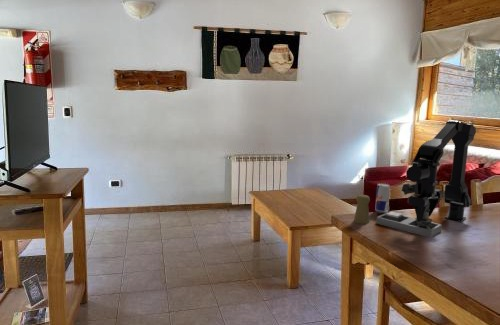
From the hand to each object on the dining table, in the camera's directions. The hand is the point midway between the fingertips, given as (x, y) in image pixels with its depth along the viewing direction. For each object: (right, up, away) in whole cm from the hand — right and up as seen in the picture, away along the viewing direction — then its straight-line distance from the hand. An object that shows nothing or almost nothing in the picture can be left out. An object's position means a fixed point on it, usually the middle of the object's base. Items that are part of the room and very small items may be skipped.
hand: (423, 218), depth 155 cm
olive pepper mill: (-21, -3, +11) cm, 23 cm away
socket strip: (-4, -4, +5) cm, 8 cm away
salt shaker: (0, -4, +1) cm, 4 cm away
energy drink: (-8, -1, +25) cm, 26 cm away
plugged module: (-8, -3, +9) cm, 12 cm away
